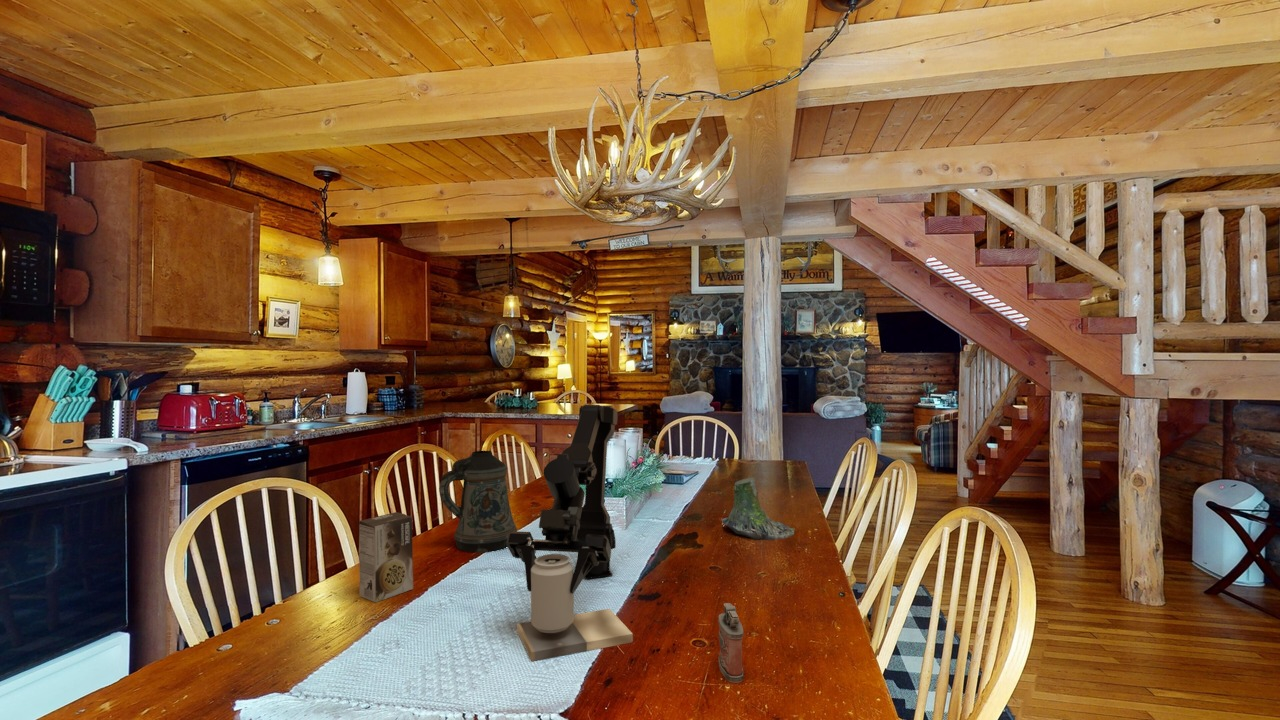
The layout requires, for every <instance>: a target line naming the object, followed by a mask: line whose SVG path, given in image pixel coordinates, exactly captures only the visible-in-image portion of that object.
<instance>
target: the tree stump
mask: <svg viewBox="0 0 1280 720" xmlns="http://www.w3.org/2000/svg"><path fill="white" fill-rule="evenodd" d="M755 479H756V478H755V477H746V478H743V479H740V480H737V481H736V482H735V483H734V486H733V491H734V492H733V507H732V509H731V511H730V513H729V515H728V516H727V517H725V518H722V519H721V522H722V524H724V525H725V526H727V528H729V529H730V530H731V531H733V532H734V533H735V534H736V535H739V536H741V537H745V538H749V539H753V540H762V541H763V540H766V541H770V540H771V541H774V540H775V541H776V540H782V539H783V540H785V539H788V538H790V537H792V536H795V530H796V528H795V527H794V528H793V527H791V526H789V525H786V524H784V523H782V522H780V521H773V519H771V517H769V516H768V515H767V513H766V511H765V510H764V509H763V508H762V506H761V504H760V501H759V496H758V495H759V491H757V485H756V483H755V482H756V481H755Z"/></svg>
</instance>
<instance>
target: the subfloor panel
mask: <svg viewBox="0 0 1280 720" xmlns="http://www.w3.org/2000/svg"><path fill="white" fill-rule="evenodd" d="M516 627H517V628H516V630H517V631H516V633H517V634H518V637H519V636H520V637H519V638H520V640H522V641H521V643H522V642H523V643H522V645H523V644H524V645H523V646H525V647H524V648H526V649H525V651H526V650H527V651H526V653H527V655H528V656H529V659H530V660H531V662H535V661H536V662H537V661H541V660H546V659H551V658H558V657H563V656H567V655H572V654H577V653H578V654H579V653H582V652H588V651H593V650H598V649H599V650H600V649H603V648H609V647H616V646H620V645H626V644H630V643H631V644H632V643H633V641H634V638H633V637H634V634H633V632H632V631H631V630H630V629H629V628H628V627H627V626H626V625H625V623H623V621H621V619H620V618H619V617H618V616H617V615H616V614H615V612H613V611H612V609H611V608H605V609H599V610H594V611H589V612H588V611H587V612H580V613H574V620H573V623H572V624H570V625H569V627H568V628H567V629H565V630H563V631H561V632H556V633H544V632H541V631H538V630H537V629H536V628H535V627H534V626H533V625H532V623H531V621H525V622H520V623H517V624H516Z"/></svg>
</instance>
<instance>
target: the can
mask: <svg viewBox="0 0 1280 720" xmlns="http://www.w3.org/2000/svg"><path fill="white" fill-rule="evenodd" d="M570 560H571V558H570V557H569V556H567V555H565V554H560V553H552V554H551V553H550V554H544V555H540V556H538V557H536V559H535V564H534V565H533V567H532V568H531V591H530V617H531V619H530V622H531V623H532V625H533V626H534V627H535V628H536V629H537V630H538V631H541V632H544V633H556V632H561V631H563V630H565V629H567V628H568V627H569V625H570V624H572V623H573V620H574V614H575V613H574V611H575V610H574V608H575V607H574V606H575V605H574V603H575V602H574V601H575V599H574V595H575V594H574V593H575V592H574V593H573V594H571V592H570V588H571V582H572V578H573V574H574V566H573V564H572V563H571V562H570Z"/></svg>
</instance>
